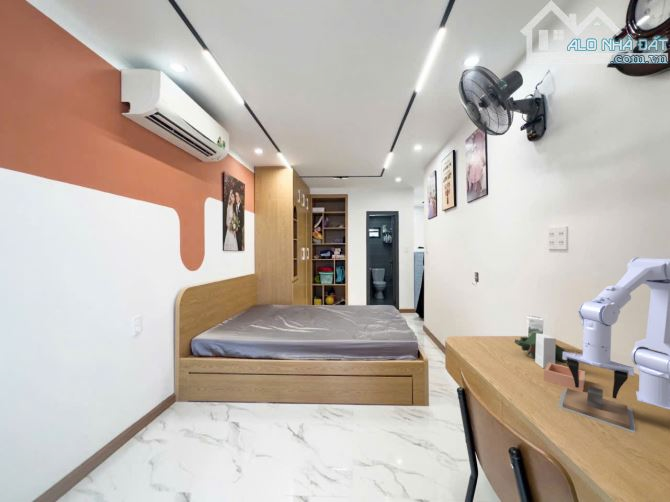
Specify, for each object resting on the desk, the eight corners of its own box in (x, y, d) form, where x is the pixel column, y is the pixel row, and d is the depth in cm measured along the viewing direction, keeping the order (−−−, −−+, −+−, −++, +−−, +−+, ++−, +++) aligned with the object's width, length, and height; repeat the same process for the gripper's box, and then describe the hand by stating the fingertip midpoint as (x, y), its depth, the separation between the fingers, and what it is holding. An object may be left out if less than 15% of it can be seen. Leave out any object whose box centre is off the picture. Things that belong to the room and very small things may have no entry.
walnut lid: (627, 409, 77) (627, 391, 77) (629, 429, 68) (630, 409, 68) (567, 391, 86) (567, 375, 86) (562, 407, 77) (562, 389, 77)
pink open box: (584, 382, 93) (585, 371, 93) (582, 392, 86) (583, 380, 86) (548, 372, 100) (548, 362, 100) (543, 381, 93) (544, 370, 93)
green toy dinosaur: (558, 378, 107) (579, 358, 106) (516, 344, 113) (536, 325, 112) (546, 370, 118) (565, 352, 117) (509, 340, 124) (527, 322, 123)
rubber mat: (632, 410, 77) (632, 409, 77) (635, 434, 66) (635, 433, 66) (563, 390, 88) (563, 388, 88) (557, 408, 77) (557, 406, 77)
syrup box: (541, 346, 129) (541, 316, 129) (542, 350, 124) (543, 319, 124) (526, 344, 132) (527, 314, 132) (527, 347, 127) (528, 317, 127)
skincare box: (555, 369, 103) (556, 338, 103) (542, 368, 104) (543, 337, 104) (546, 363, 109) (547, 334, 109) (534, 362, 110) (535, 333, 110)
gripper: (561, 340, 79) (560, 386, 79) (635, 355, 69) (633, 408, 69) (564, 335, 84) (563, 379, 84) (633, 349, 74) (632, 398, 74)
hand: (595, 391), depth 77 cm, fingers open, 7 cm apart
